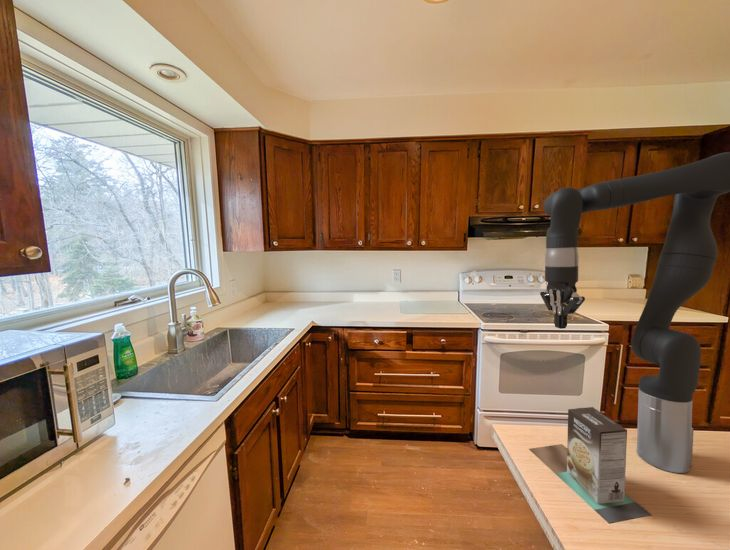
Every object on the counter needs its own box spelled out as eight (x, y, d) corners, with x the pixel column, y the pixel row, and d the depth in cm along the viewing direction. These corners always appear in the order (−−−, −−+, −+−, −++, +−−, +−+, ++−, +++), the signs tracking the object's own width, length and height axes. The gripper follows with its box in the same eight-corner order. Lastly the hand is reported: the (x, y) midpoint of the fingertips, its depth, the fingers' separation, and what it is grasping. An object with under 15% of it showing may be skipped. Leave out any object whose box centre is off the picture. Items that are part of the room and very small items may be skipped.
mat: (561, 445, 79) (561, 444, 79) (652, 516, 58) (652, 514, 58) (528, 449, 78) (528, 448, 78) (608, 524, 56) (608, 523, 56)
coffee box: (564, 472, 69) (565, 407, 68) (590, 470, 70) (591, 406, 69) (597, 505, 60) (599, 431, 59) (626, 502, 61) (629, 429, 59)
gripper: (596, 264, 72) (594, 333, 73) (554, 263, 85) (553, 321, 86) (569, 266, 71) (568, 335, 72) (531, 264, 84) (530, 323, 85)
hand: (560, 327), depth 79 cm, fingers closed
